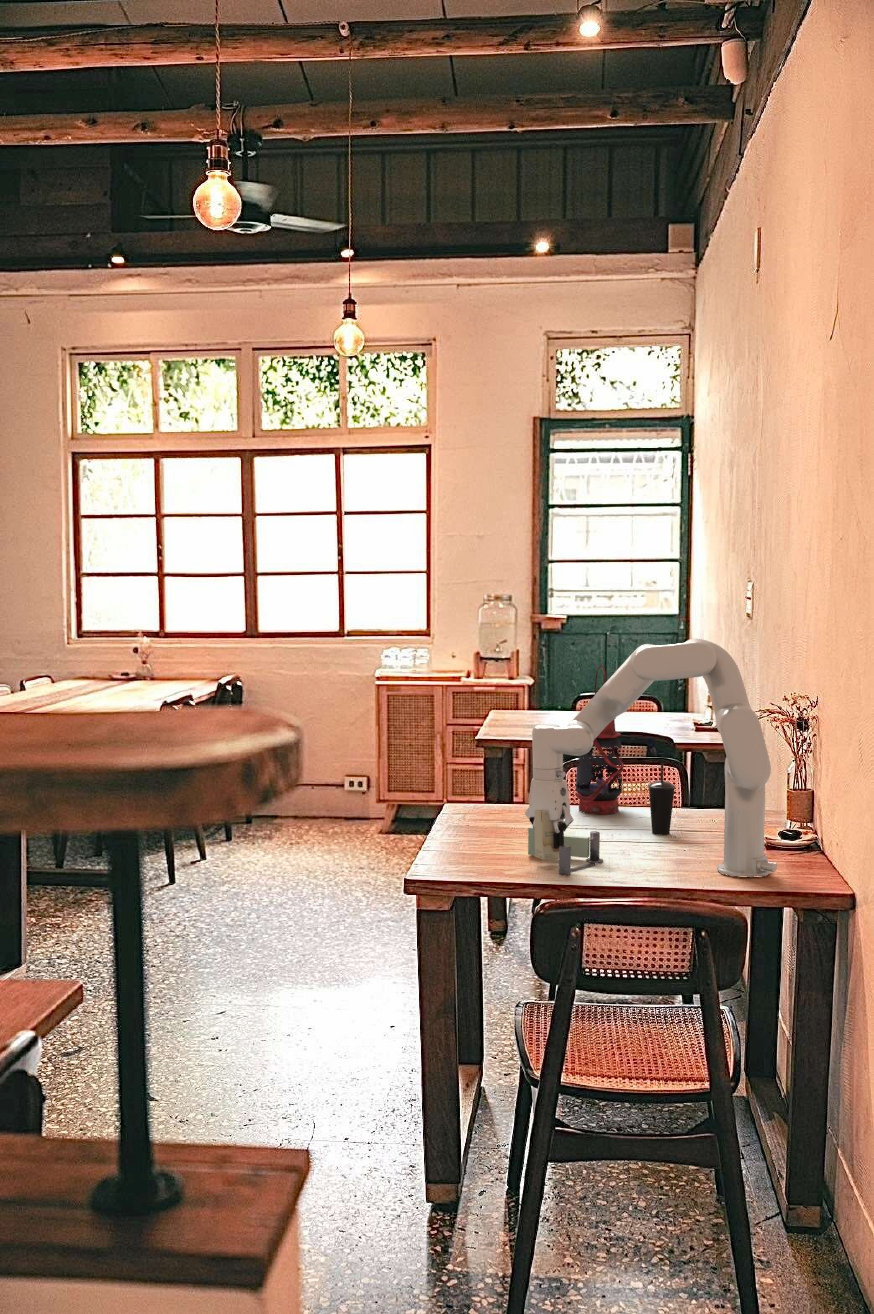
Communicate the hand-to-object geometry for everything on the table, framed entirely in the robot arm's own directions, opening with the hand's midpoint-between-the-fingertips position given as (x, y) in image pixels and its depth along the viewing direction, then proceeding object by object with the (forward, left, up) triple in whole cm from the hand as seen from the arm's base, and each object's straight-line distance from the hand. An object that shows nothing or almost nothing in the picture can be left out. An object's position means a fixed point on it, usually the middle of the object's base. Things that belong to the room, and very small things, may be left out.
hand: (549, 845), depth 304 cm
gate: (+3, -7, -5) cm, 9 cm away
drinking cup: (+3, -51, -5) cm, 52 cm away
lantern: (+34, -64, -5) cm, 73 cm away
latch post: (-8, -1, -5) cm, 10 cm away
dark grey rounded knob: (-5, -11, -5) cm, 14 cm away
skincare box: (0, 0, -3) cm, 3 cm away
